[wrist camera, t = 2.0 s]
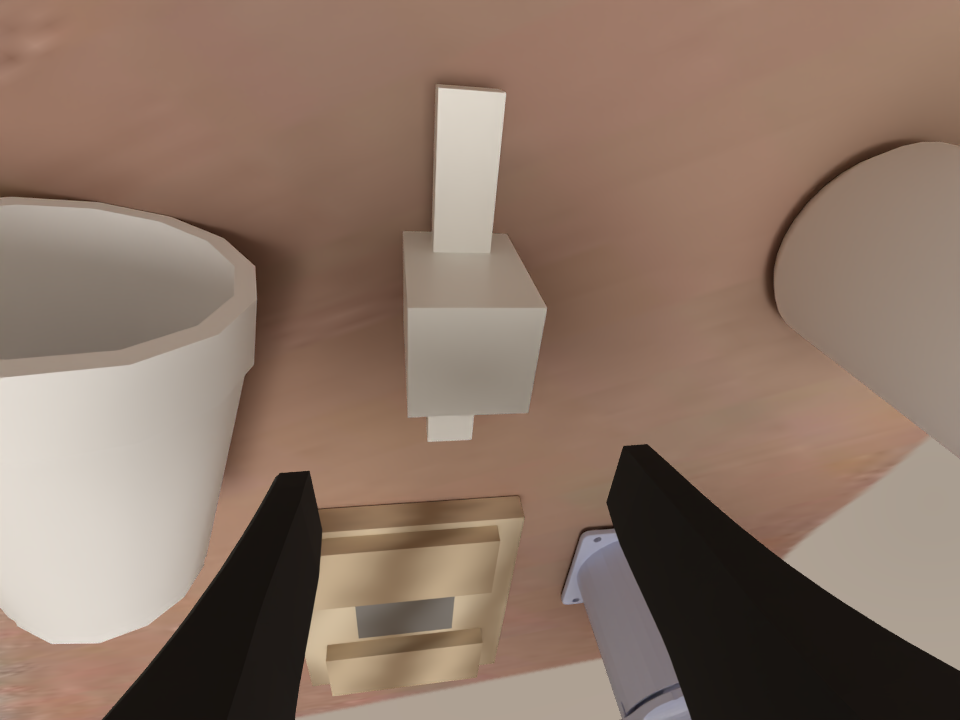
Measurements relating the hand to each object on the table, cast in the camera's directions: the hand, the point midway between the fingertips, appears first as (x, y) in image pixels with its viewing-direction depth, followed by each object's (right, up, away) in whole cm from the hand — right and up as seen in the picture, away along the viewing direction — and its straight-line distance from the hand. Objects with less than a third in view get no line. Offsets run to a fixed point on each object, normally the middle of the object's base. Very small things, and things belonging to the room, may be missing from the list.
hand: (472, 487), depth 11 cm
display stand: (-5, -12, +20) cm, 24 cm away
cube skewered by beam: (-1, +6, +8) cm, 11 cm away
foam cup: (-14, -5, +8) cm, 17 cm away
